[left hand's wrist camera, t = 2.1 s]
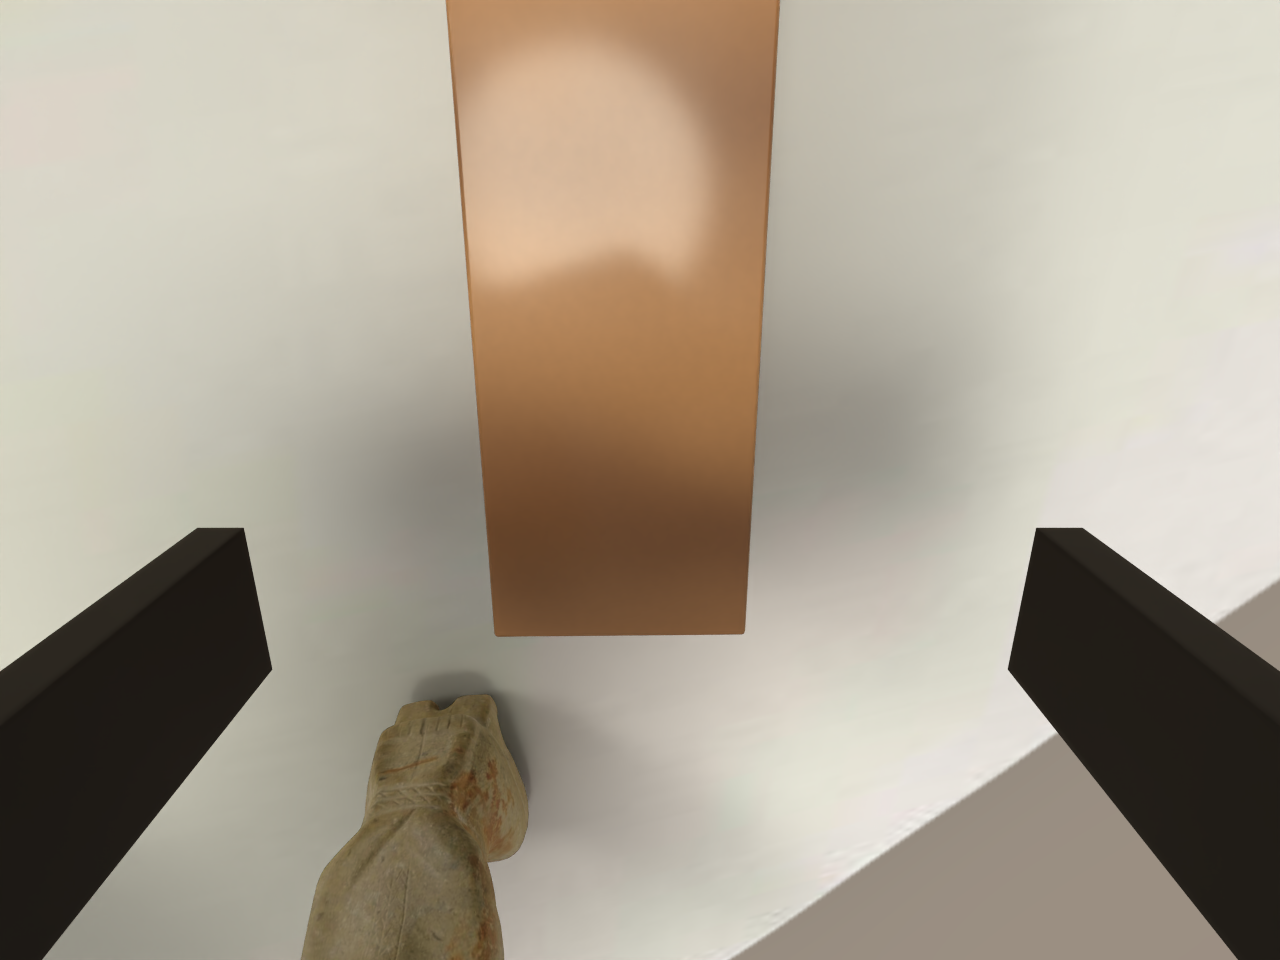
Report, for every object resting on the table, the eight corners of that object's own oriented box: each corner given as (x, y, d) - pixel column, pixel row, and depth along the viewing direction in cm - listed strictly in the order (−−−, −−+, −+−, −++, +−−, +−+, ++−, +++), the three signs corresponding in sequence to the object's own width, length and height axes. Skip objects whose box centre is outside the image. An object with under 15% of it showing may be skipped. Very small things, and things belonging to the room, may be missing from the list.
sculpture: (409, 825, 31) (225, 1349, 17) (373, 678, 28) (122, 1146, 14) (549, 814, 31) (484, 1330, 17) (526, 666, 28) (426, 1123, 14)
